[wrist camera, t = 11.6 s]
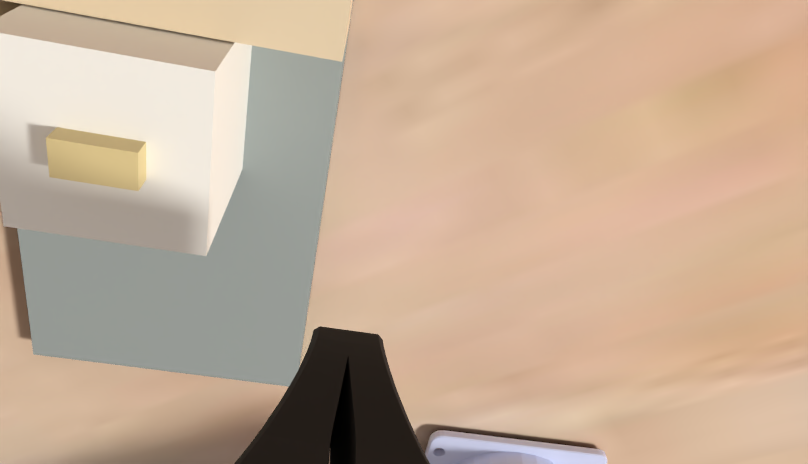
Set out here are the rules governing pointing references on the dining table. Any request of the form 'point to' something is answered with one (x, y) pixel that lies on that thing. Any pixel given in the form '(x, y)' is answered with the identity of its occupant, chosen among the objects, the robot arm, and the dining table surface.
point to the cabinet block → (118, 129)
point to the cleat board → (241, 223)
